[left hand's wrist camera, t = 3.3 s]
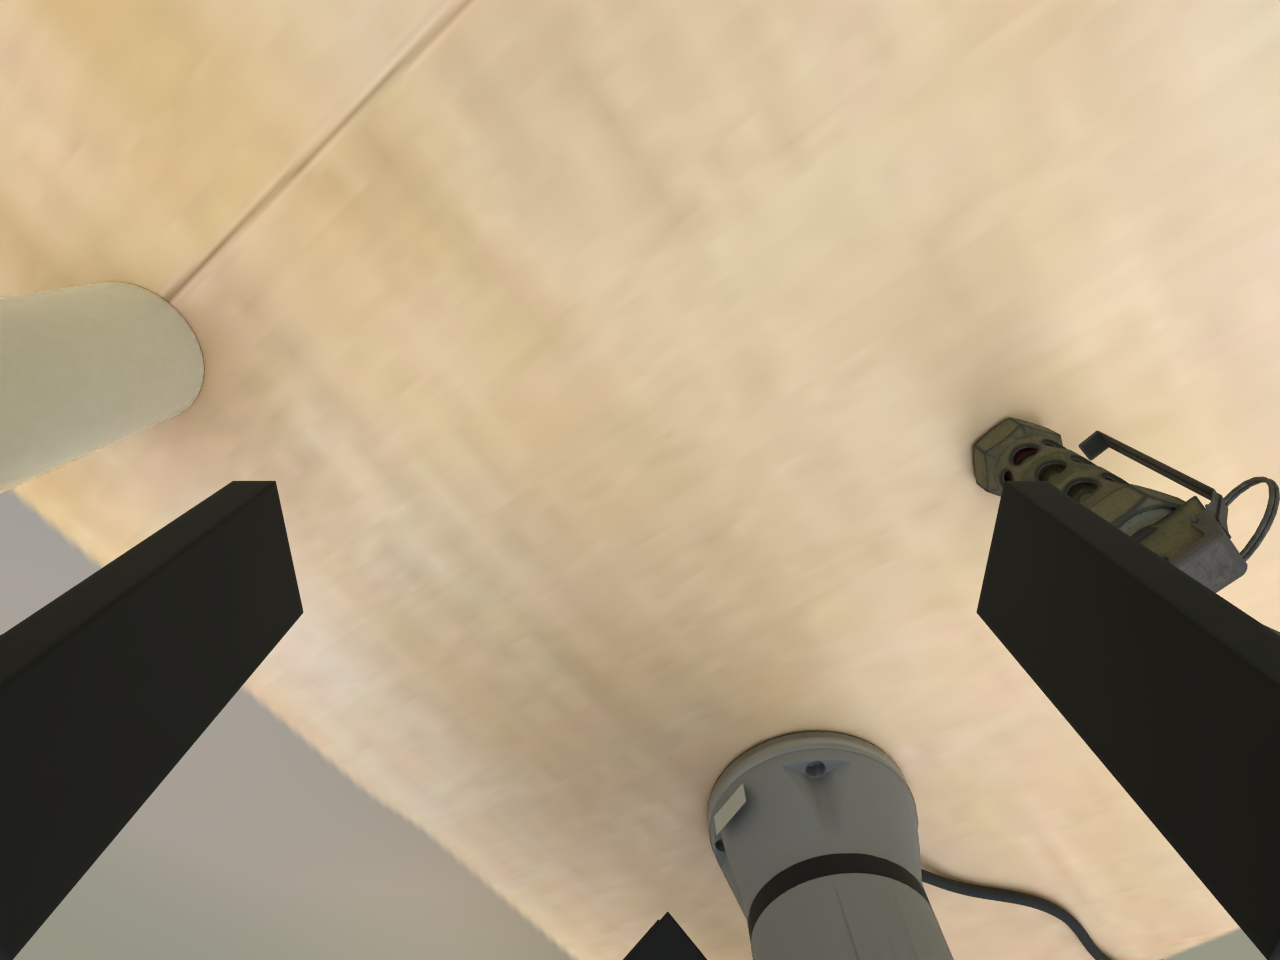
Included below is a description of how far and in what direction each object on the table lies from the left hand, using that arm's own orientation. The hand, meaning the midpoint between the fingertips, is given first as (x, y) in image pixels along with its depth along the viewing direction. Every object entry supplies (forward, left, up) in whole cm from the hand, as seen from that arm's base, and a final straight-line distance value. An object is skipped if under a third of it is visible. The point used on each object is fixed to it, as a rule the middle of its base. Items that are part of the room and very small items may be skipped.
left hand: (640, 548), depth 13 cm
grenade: (+8, +24, -28) cm, 38 cm away
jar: (+2, -29, -28) cm, 40 cm away
